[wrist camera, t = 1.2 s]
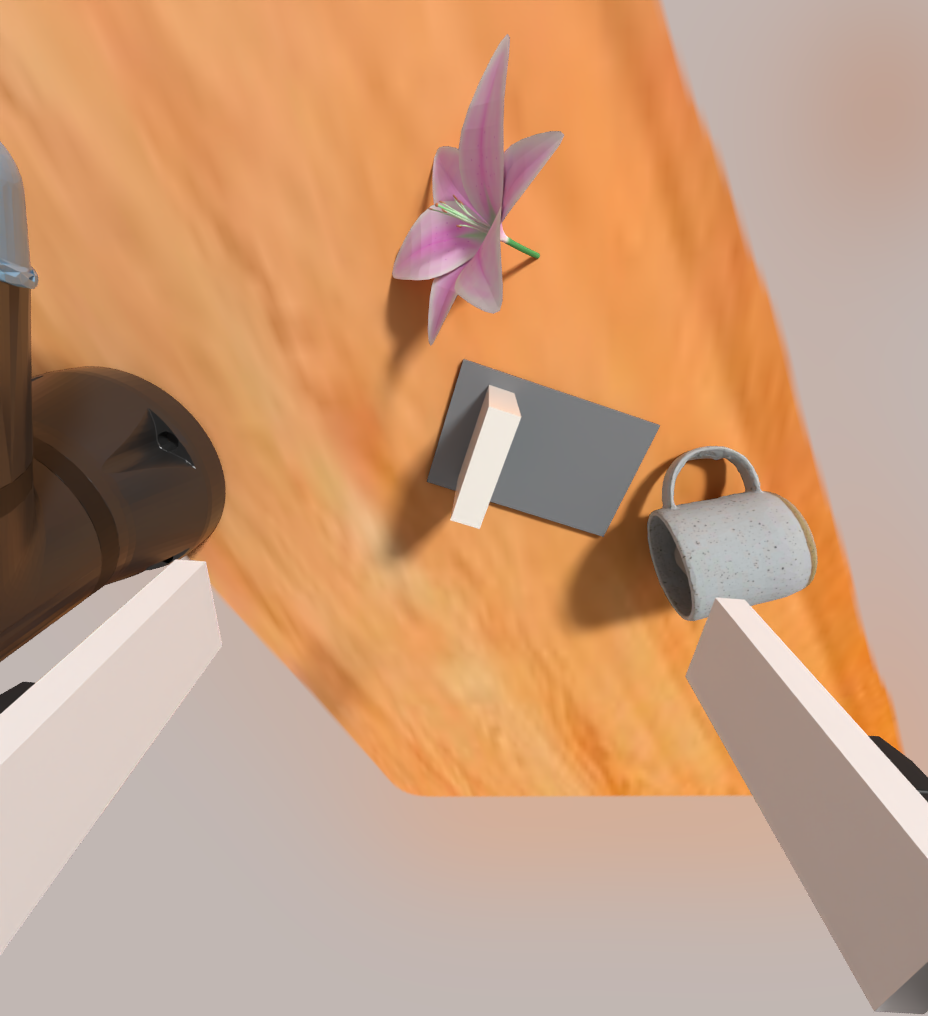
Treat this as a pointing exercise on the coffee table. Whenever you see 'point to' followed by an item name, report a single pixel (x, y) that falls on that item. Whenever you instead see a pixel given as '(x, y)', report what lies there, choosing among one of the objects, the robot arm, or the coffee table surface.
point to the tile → (485, 456)
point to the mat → (548, 450)
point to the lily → (473, 204)
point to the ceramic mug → (728, 543)
